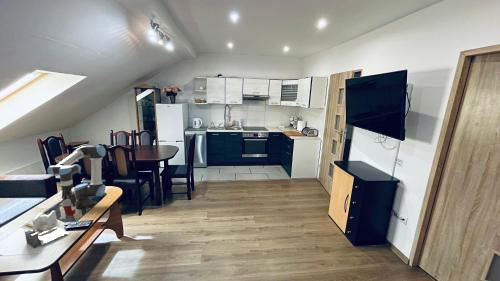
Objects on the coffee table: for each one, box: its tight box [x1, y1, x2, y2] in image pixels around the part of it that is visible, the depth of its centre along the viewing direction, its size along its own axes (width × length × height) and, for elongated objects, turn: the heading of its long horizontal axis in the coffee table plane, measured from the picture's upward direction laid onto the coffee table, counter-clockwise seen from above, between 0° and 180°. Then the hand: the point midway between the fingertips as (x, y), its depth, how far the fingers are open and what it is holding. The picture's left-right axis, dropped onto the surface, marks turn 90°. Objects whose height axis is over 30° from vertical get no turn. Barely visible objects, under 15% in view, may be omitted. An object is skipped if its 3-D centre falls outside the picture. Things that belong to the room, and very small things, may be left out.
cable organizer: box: [31, 210, 57, 232], centre depth 184 cm, size 15×11×12 cm
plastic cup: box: [60, 198, 77, 217], centre depth 182 cm, size 11×11×12 cm
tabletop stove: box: [24, 226, 70, 249], centre depth 169 cm, size 22×17×12 cm
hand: (70, 208), depth 182 cm, fingers closed on plastic cup, 11 cm apart
